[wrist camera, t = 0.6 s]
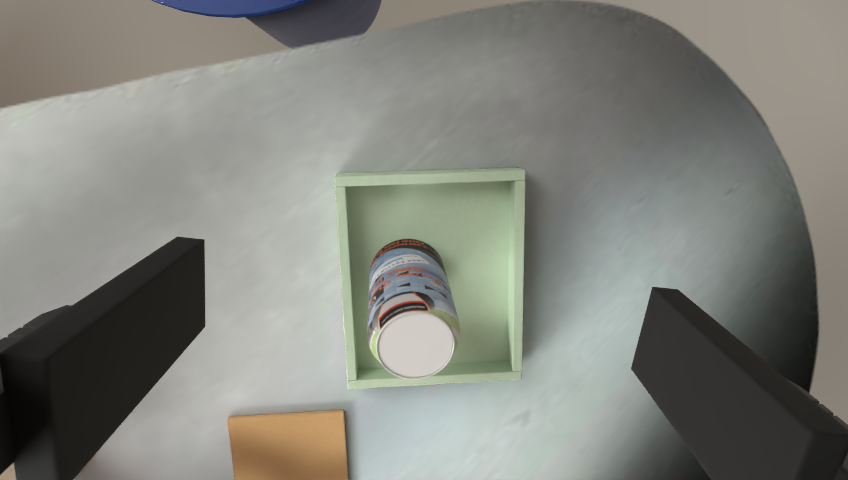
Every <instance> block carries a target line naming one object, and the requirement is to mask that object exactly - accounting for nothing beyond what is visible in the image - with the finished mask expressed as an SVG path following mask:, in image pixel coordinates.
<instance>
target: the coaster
mask: <svg viewBox="0 0 848 480" xmlns="http://www.w3.org/2000/svg"><path fill="white" fill-rule="evenodd" d="M227 420H228V428H229V437H230V445H231V453H232V461H233V469H234V477H235V480H349V479H348V464H347V449H346V434H345V419H344V410H332V411H315V412H298V413H281V414H264V415H248V416H231V417H228V419H227Z"/></svg>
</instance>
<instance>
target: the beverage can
mask: <svg viewBox="0 0 848 480" xmlns="http://www.w3.org/2000/svg"><path fill="white" fill-rule="evenodd" d="M367 337H368V343H369V347H370V349H371V351H372V353H373V355H374V356H375V358H376V359H377V360H378V361H379V362H380V363H381V364H382V365H383V367H384V368H385V369H386V370H387V371H389V372H390V373H392V374H393V375H395V376H398V377H400V378H404V379H412V380H413V379H423V378H427V377H430V376H432V375H434V374H436V373H438V372H439V371H441V370H442V369H443V368H444V367H445V366H446V365H447V364H448V362H449V361H450V360H451V357H452V355H453V354H454V352H455V350H456V348H457V346H458V343H459V339H460V324H459V319H458V316H457V312H456V308H455V305H454V301H453V297H452V294H451V290H450V286H449V283H448V279H447V275H446V272H445V268H444V264H443V261H442V259H441V257H440V255H439V254H438V252H437V251H436V250H435V249H434V248H433V247H431V246H430V245H429V244H427V243H425V242H423V241H420V240H416V239H401V240H396V241H393V242H391V243H389V244H387V245H385V246H384V247H383V248H382V249H380V251H379V252H378V253H377V254H376V255H375V257H374V259H373V261H372V264H371V267H370V280H369V304H368V328H367Z"/></svg>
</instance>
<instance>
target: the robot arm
mask: <svg viewBox="0 0 848 480" xmlns="http://www.w3.org/2000/svg"><path fill="white" fill-rule="evenodd" d="M204 327H205V254H204V240H203V239H194V238H184V237H176V238H175V239H173V240H172V241H170V242H168V243H167V244H165V245H164V246H162V247H161V248H159V249H158V250H156V251H155V252H153V253H152V254H150V255H149V256H147V257H146V258H144V259H143V260H141V261H139V262H138V263H136V264H135V265H133V266H132V267H130V268H129V269H127V270H126V271H124V272H123V273H121V274H120V275H118V276H117V277H115V278H114V279H112V280H111V281H109V282H107V283H106V284H104V285H103V286H101V287H100V288H98V289H97V290H95V291H94V292H92V293H91V294H89V295H88V296H86V297H85V298H83V299H82V300H80V301H78V302H77V303H75V304H74V305H72V306H69V305H66V306H63V307H60V308H58V309H55V310H52V311H49V312H46V313H43V314H41V315H40V316H38V317H36V318H35V319H33V320H32V321H30V322H28V323H27V324H25V325H24V326H23V328H19V329H17V330H16V331H14V332H12V333H11V334H9V335H8V338H6V337H4V338H3V339H1V340H0V475H1V474H2V473H3V472H4V471H5V470H6V469H7V468H8V467H9V466H11V465H12V464H13V463H14V468H15V475H16V480H73V479H74V478H75V477H76V476H77V474H78V473H79V472H80V471H81V470H82V469H83V467H84V466H85V465H86V464H87V463H88V462H89V460H90V459H91V458H92V457H93V456H94V455H95V454H96V452H97V451H98V450H99V449H100V448H101V447H102V445H103V444H104V443H105V442H106V441H107V440H108V438H109V437H110V436H111V435H112V434H113V433H114V432H115V430H116V429H117V428H118V427H119V426H120V425H121V423H122V422H123V421H124V420H125V419H126V418H127V416H128V415H129V414H130V413H131V412H132V411H133V410H134V408H135V407H136V406H137V405H138V404H139V403H140V401H141V400H142V399H143V398H144V397H145V396H146V394H147V393H148V392H149V391H150V390H151V389H152V388H153V386H154V385H155V384H156V383H157V382H158V381H159V379H160V378H161V377H162V376H163V375H164V374H165V372H166V371H167V370H168V369H169V368H170V367H171V366H172V364H173V363H174V362H175V361H176V360H177V359H178V357H179V356H180V355H181V354H182V353H183V352H184V350H185V349H186V348H187V347H188V346H189V345H190V344H191V342H192V341H193V340H194V339H195V338H196V337H197V335H198V334H199V333H200V332H201V331H202V330H203V328H204ZM631 369H632V371H633V372H634V373H635V375H636V376H637V377H638V379H639V380H640V382H641V383H642V384H643V386H644V387H645V388H646V390H647V391H648V393H649V394H650V395H651V397H652V398H653V400H654V401H655V402H656V404H657V405H658V406H659V408H660V409H661V411H662V412H663V413H664V415H665V416H666V418H667V419H668V420H669V422H670V423H671V424H672V426H673V427H674V429H675V430H676V431H677V433H678V434H679V436H680V437H681V438H682V440H683V441H684V442H685V444H686V445H687V447H688V448H689V449H690V451H691V452H692V453H693V455H694V456H695V458H696V459H697V460H698V462H699V463H700V465H701V466H702V467H703V469H704V470H705V471H706V473H707V474H708V476H709V477H710V478H711V480H848V425H847V424H846V423H845V422H844V421H842V420H841V419H840V418H839V417H837V416H833V413H832V412H831V411H830V410H829V409H828V408H826V407H825V406H824V405H823V404H819V401H818V400H817V399H815V398H814V397H813V396H811V395H810V394H809V393H808V392H807V391H805V390H804V389H803V388H802V387H800V386H798V385H796V384H795V383H793V382H791V381H789V380H787V379H786V378H784V377H783V376H782V375H781V374H780V373H778V372H777V371H776V370H775V369H773V368H772V367H771V366H770V365H769V364H767V363H766V362H765V361H764V360H763V359H761V358H760V357H759V356H758V355H756V354H755V353H754V352H753V351H752V350H750V349H749V348H748V347H747V346H746V345H744V344H743V343H742V342H741V341H740V340H738V339H737V338H736V337H735V336H733V335H732V334H731V333H730V332H729V331H727V330H726V329H725V328H724V327H723V326H721V325H720V324H719V323H718V322H716V321H715V320H714V319H713V318H712V317H710V316H709V315H708V314H707V313H706V312H704V311H703V310H702V309H701V308H700V307H698V306H697V305H696V304H695V303H693V302H692V301H691V300H690V299H689V298H687V297H686V296H685V295H684V294H683V293H681V292H680V291H679V290H677V289H668V288H658V287H652V291H651V295H650V298H649V302H648V306H647V310H646V314H645V318H644V321H643V325H642V329H641V333H640V337H639V340H638V344H637V348H636V352H635V356H634V360H633V363H632V367H631Z"/></svg>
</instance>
